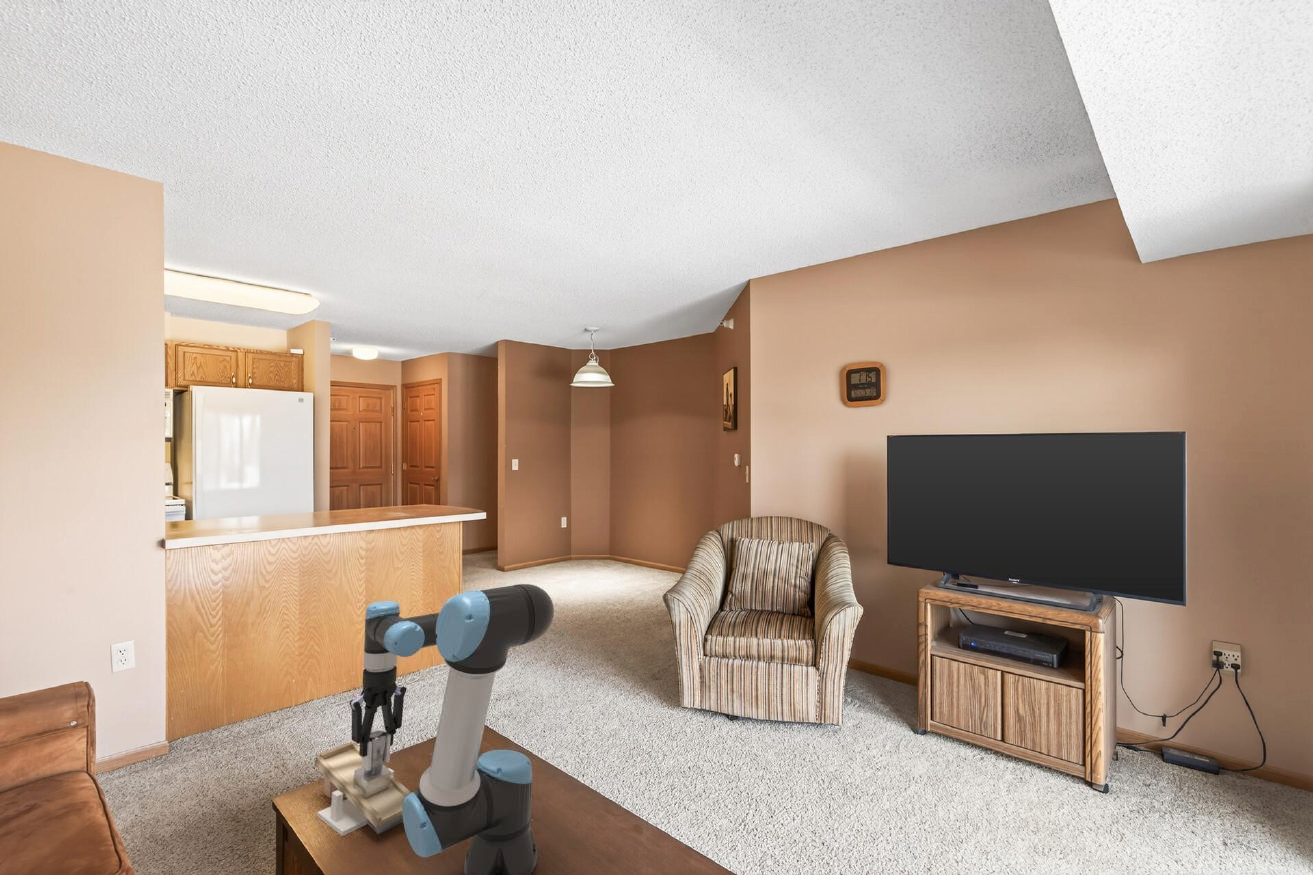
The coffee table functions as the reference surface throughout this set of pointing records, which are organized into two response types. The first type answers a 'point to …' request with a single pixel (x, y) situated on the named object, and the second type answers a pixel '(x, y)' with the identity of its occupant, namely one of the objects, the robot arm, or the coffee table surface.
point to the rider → (373, 769)
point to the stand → (341, 811)
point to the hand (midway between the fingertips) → (375, 764)
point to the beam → (377, 808)
